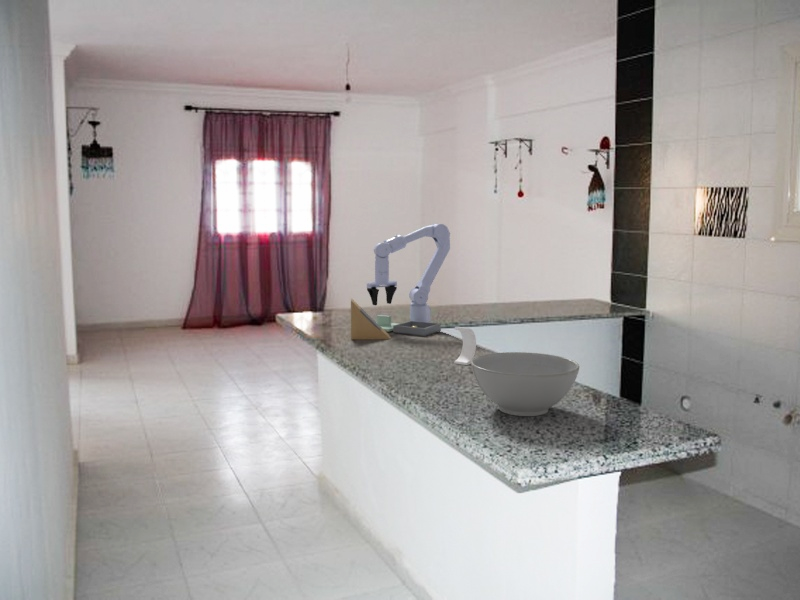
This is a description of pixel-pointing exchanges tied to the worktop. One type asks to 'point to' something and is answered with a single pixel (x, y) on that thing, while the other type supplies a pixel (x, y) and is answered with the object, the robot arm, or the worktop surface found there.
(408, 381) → the worktop surface
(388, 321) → the lid
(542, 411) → the decorative bowl
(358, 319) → the sandwich container
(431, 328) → the tub
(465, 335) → the headphone stand
